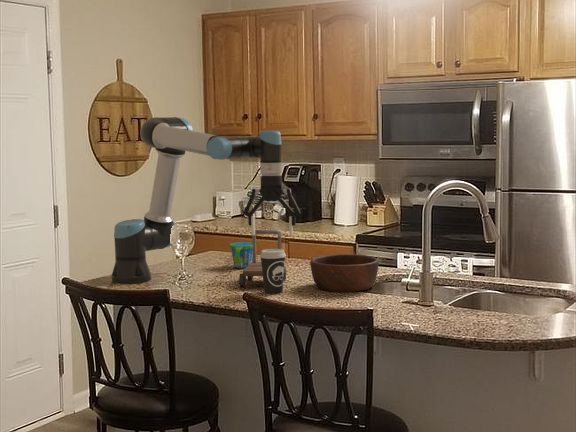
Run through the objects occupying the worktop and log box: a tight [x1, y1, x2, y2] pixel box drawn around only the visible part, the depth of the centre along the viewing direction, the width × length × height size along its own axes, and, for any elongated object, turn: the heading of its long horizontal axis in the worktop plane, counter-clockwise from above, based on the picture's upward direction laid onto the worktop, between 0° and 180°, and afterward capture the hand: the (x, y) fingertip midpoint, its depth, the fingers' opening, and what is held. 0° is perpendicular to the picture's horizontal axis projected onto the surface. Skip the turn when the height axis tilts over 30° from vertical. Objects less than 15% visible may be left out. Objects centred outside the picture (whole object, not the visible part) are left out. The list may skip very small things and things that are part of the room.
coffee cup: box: [259, 248, 287, 295], centre depth 274 cm, size 10×10×15 cm
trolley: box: [238, 229, 287, 288], centre depth 290 cm, size 19×14×19 cm
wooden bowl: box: [309, 253, 380, 293], centre depth 282 cm, size 25×25×10 cm
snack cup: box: [229, 241, 253, 270], centre depth 326 cm, size 16×10×10 cm
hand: (272, 234), depth 273 cm, fingers open, 13 cm apart
